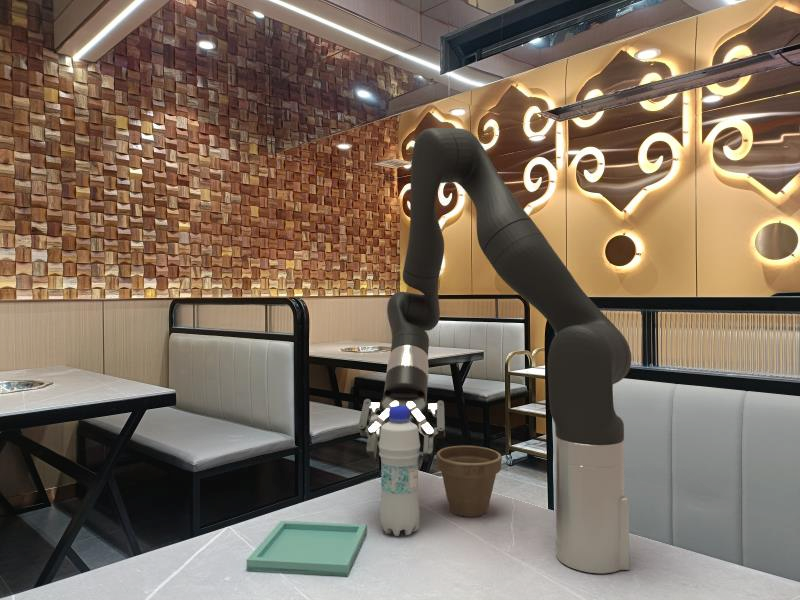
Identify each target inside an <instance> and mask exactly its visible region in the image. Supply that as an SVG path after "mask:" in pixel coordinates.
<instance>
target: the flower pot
mask: <svg viewBox="0 0 800 600" xmlns="http://www.w3.org/2000/svg"><path fill="white" fill-rule="evenodd" d="M435 457H436V468H437V469H438V470H439V471H440V473H441V477H442V481H443V487H444V490H445V495H446V499H447V503H448V507H449V510H450V511H451V512H452V513H453V514H455V515H457V516H461V517H471V518H472V517H473V518H474V517H479V516H483V515H484V514H486V513H487V511H488V508H489V505H490V502H491V498H492V493H493V490H494V489H493V488H494V484H495V480H496V476H497V474H498V473H500V472H501V470H502V458H503V457H502V455H501V453H499V452H498V451H496V450H494V449H491V448H488V447H484V446H483V447H482V446H478V445H477V446H476V445H454V446H448V447H443V448H441V449H440V450H438V451H437V452H436V456H435Z"/></svg>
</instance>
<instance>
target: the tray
mask: <svg viewBox="0 0 800 600" xmlns="http://www.w3.org/2000/svg"><path fill="white" fill-rule="evenodd" d="M367 526H368V525H367V524H363V523H362V524H359V523H341V522H340V523H339V522H321V521H319V522H316V521H315V522H314V521H297V520H296V521H294V520H280V521H279V522H278V523H277V524H276V526H275V527H274V528H273V529H272V530H271V531H270V532H269V534H268V535H267V536H266V537H265V538H264V539H263V540H262V542H260V544H259V545H258V546H257V547H256V548H255V550H254V551H252V553H251V554H250V555H249V556H248V558H247V559H246V571H247V572H262V573H277V574H278V573H281V574H295V575H312V576H331V577H348V576H349V575H350V572H351V570H352V568H353V565H354V563H355V560H356V559H357V558H358V557H357V556H358V555H359V553H360V550H361V548H362V545H363V543H364V542H365V539H366V536H367V533H368V529H367V528H368V527H367Z"/></svg>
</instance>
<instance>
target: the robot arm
mask: <svg viewBox="0 0 800 600" xmlns="http://www.w3.org/2000/svg"><path fill="white" fill-rule="evenodd" d="M451 183H456V184H458V185H460V187H462V189H463V190H464V191H465V192H466V194H467V195H468V197H469V198H470V200H471V201H472V204H473V206H474V208H475V211H476V213H475V214H476V237H477V242H478V245H479V247H480V249H481V252H482V253H483V255H484V256H485V257H486V259H487V261H488V262H489V264H490V265H491V266H492V268H493V269H494V271H495V273H497V275H498V276H499V278H500V279H502V281H503V282H504V283H506V285H508V286H509V288H511V289H512V290H513V291H514V292H515V293H517V294H518V295H519V296H520V297H521V298H522V299H523V300H525V301H526V302H527V303H528V304H530V305H531V306H533V307H534V308H535V310H537V311H538V312H540V314H541V315H542V317H544V318H545V319H546V320H547V322H548V323H549V324H550V326H551V327H552V329H553V330H554V332H555V336H554V337H553V338H552V341H551V343H550V347H549V350H548V357H547V379H548V380H547V381H548V384H547V385H548V399H549V410H550V415H551V419H552V420H553V423H554V427H555V429H554V430H555V432H554V433H555V548H556V550H555V553H556V555H555V556H556V558H557V559H558V561H559V562H560V563H562V564H563V565H564V566H566V567H569V568H571V569H575V570H578V571H579V572H580V571H581V572H586V573H590V574H592V573H593V574H610V573H617V572H618V571H622V570H623V571H624V570H627V571H629V570H630V501H629V498H628V497H627V496H626V495H625V425H624V421H623V420H622V418H621V417H620V416H619V415H617V414H616V411H615V406H614V405H615V404H614V389H613V388H614V387H613V385H614V384H617V383H619V382H621V381H622V380H623V379H624V378H626V376H628V373H629V371H630V369H631V366H632V352H631V347H630V345H629V343H628V341H627V339H626V337H625V336H624V335H623V333H622V332H621V331H620V330H619V329H618V328H617V327H616V325H615V324H614V323H613V322H612V321H611V320H610V319H609V318H608V316H606V315H605V314H604V313H603V312H602V311H601V309H600V308H599V307H598V306H597V305H596V304H595V302H593V301H592V300H591V298H590V297H589V296H588V295H587V294H586V293H585V291H584V290H583V289H582V288H581V287H580V285H579V284H578V283H577V281H576V279H575V277H574V276H573V275H572V273H571V272H570V271H569V269H568V267H567V266H566V265H565V263H564V262H563V261H562V260H561V258H560V257H559V255H558V254H557V252H556V251H555V249H554V248H553V247H552V245H551V244H550V243H549V241H548V240H547V238H546V236H545V235H544V234H543V233H542V231H541V230H540V229H539V226H537V225H536V223H535V222H534V220H533V219H532V218H531V217H530V215H528V213H527V212H526V211H525V209H523V207H522V206H521V204H520V203H519V202H518V200H517V198H516V197H515V195H514V194H513V193H512V191H511V190H510V188H509V187H508V186H507V185H506V183H505V182H504V180H503V178H502V177H501V176H500V174H499V172H498V171H497V169H496V167H495V166H494V164H493V161H491V159H490V157H489V155H488V154H487V151H486V150H485V148H484V146H483V145H482V143H481V142H480V140H479V139H478V138H477V136H476V135H475V134H474V133H472V132H471V131H469V130H467V129H464V128H457V127H452V128H451V127H431V128H425V129H423V131H421V132H420V133H419V134H418V135H417V137H416V139H415V141H414V145H413V149H412V154H411V165H410V194H409V195H410V197H409V199H410V202H409V203H410V206H409V207H410V208H409V213H410V214H409V216H410V217H409V219H410V220H409V236H408V241H407V242H408V243H407V249H406V254H405V259H404V265H403V269H402V270H403V271H402V280H403V282H404V283H405V285H406V286H408V287H410V288H412V289H413V290H414V289H415V290H417V291H419V292H421V293H422V294H420V293H414V292H408V291H407V292H406V291H397V292H395V293H393V294H392V295H391V296H390V297H389V299H388V302H387V305H386V306H387V307H386V309H387V310H386V313H387V319H388V323H389V327H390V331H391V346H390V353H389V354H390V355H389V358H388V361H387V367H386V374H385V379H384V380H385V383H384V390H383V396H382V400H381V401H380V402H372V401H371V399H369V398H366V399H364V400H363V405H362V409H361V413H360V415H359V416H360V418H359V422H358V431H359V434H360V436H361V437H367V442H366V448H365V449H366V452H367V456H368V457H369V458H370V460H376V459H377V452H378V446H379V438H380V433H381V426H382V425H384V424H386V423H387V422H389V421H390V420H389V410H390V408H391V407H393V406H398V405H401V406H406V407H408V408H409V411H410V420H409V421H410V422H412V423H414V424H415V425H417V427H418V432H419V433H420V434H422V435H423V437H424V438H423V450H422V451H423V452H422V458H423V462H429V459H432V458H433V455H434V442H435V441H436V440H438V439H440V440H444V439H445V438H446V425H445V424H446V420H445V403H444V401H443V400H440V399H439V400H438V401H437V402H436V403H428V401H427V400H428V399H427V398H428V382H429V377H430V375H429V347H430V339H429V334H428V331H432V330H433V329H435V328H436V326H437V325H438V323H439V321H440V319H441V318H440V317H441V312H440V309H441V308H440V301H439V280H440V274H441V269H442V266H443V259H444V256H445V255H444V254H445V239H444V236H443V232H442V228H441V226H440V223H439V220H438V216H437V210H436V209H437V207H436V201H437V196H438V191H439V187H440V185H441V184H451ZM378 411H379V412H380V415H378V416H377V418H376V420H375V421H374V423H372V424H371V425H370V423H371V418H372V417H374V415H376V414H377V412H378ZM429 413H431V414H432V417H434V418H436V425H437V427H432V426H431V425H430V423H429V422H428V421H427V419H426V416H427V415H428V414H429Z"/></svg>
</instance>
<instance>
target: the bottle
mask: <svg viewBox="0 0 800 600" xmlns="http://www.w3.org/2000/svg"><path fill="white" fill-rule="evenodd" d="M389 420H390V421H389V422H387V423H386V424H384V425H382V426H381V433H380V436H379V439H378V449H379V452H378V455H379V457H380V461H381V464H380V465H381V467H380V468H381V469H380V476H381V477H380V478H381V479H380V482H381V484H380V485H381V486H380V488H381V489H380V491H381V492H380V493H381V495H380V506H379V507H380V508H379V509H380V510H379V517H380V518H379V519H380V524H381V527H382V529H383V531H384V532H385V533H386V535H387V534H388V535H391V533H393V535H394V536H395V537H399V536H400V534H401V531H403V530H404V535H405V536H410V535H411V534H412V533H414V532H416V531H417V530H418V527H419V524H420V503H419V502H420V499H419V457H420V455H421V452H420V450H421V440H420V434H419V433H420V432H419V431H418V427H417V425H415V424H414V423H412V422H410V421H409V420H410V411H409V408H408V407H406V406H401V405H398V406H393V407H391V408H390V410H389Z"/></svg>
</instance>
